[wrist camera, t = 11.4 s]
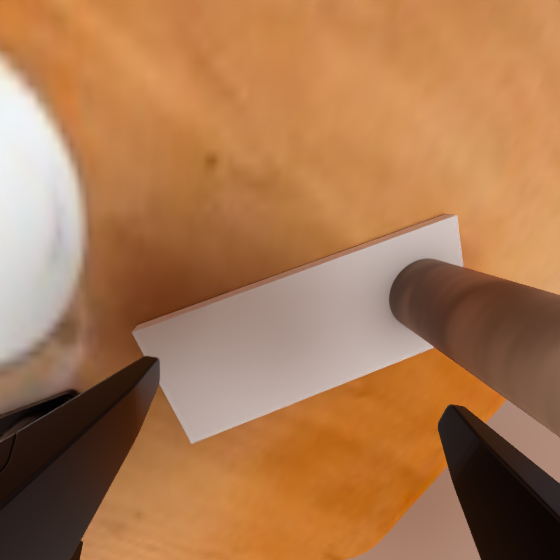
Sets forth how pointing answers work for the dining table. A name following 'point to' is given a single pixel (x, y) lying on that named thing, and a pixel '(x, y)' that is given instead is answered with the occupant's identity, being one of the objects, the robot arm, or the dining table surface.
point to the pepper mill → (487, 330)
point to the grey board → (291, 332)
